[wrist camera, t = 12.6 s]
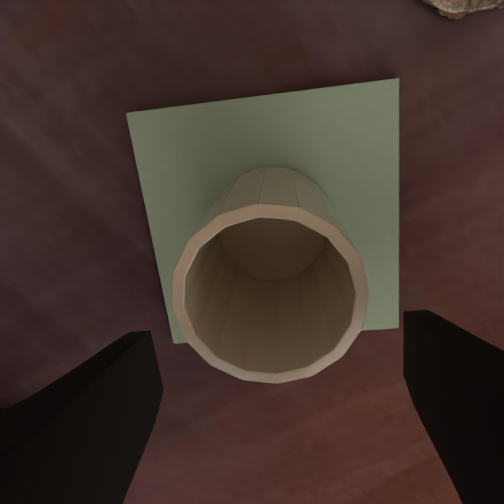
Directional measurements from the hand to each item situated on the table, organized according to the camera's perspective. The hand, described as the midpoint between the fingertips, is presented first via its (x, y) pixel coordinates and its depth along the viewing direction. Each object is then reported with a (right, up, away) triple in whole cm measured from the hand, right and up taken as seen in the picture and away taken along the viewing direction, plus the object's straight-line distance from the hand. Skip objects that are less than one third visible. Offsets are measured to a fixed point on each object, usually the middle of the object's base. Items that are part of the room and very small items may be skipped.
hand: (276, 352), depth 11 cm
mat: (0, +4, +8) cm, 9 cm away
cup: (0, +4, +8) cm, 9 cm away
